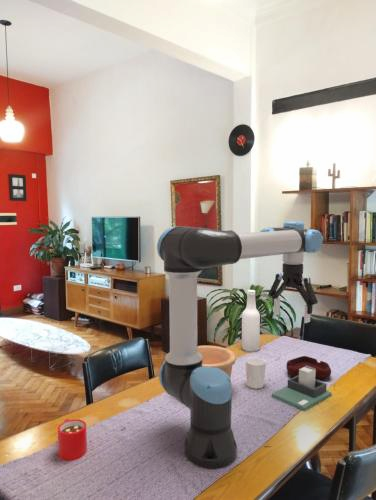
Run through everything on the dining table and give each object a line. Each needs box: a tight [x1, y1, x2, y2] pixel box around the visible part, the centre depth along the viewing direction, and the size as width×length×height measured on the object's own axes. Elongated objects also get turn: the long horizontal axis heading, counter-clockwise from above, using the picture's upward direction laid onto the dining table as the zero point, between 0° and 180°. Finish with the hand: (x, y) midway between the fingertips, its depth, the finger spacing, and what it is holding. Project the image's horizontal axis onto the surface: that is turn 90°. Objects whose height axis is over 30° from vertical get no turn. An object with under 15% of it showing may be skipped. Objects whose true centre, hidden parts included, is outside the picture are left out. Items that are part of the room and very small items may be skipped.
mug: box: [57, 418, 88, 462], centre depth 115 cm, size 8×12×8 cm, turn 34°
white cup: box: [245, 356, 267, 390], centre depth 157 cm, size 8×8×10 cm
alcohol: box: [241, 289, 261, 353], centre depth 197 cm, size 9×9×30 cm
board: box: [271, 375, 333, 412], centre depth 148 cm, size 18×14×4 cm
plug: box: [299, 365, 316, 389], centre depth 151 cm, size 5×4×8 cm
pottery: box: [197, 345, 237, 379], centre depth 152 cm, size 22×22×14 cm
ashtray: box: [286, 355, 332, 381], centre depth 169 cm, size 18×16×5 cm
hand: (291, 318), depth 149 cm, fingers open, 13 cm apart
